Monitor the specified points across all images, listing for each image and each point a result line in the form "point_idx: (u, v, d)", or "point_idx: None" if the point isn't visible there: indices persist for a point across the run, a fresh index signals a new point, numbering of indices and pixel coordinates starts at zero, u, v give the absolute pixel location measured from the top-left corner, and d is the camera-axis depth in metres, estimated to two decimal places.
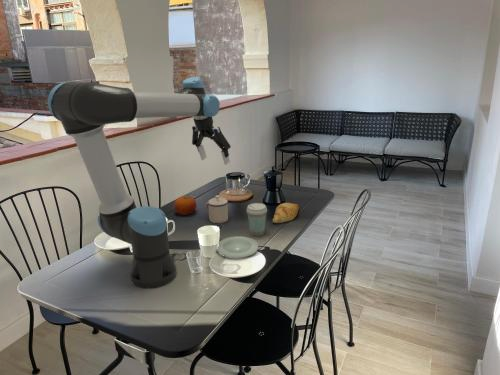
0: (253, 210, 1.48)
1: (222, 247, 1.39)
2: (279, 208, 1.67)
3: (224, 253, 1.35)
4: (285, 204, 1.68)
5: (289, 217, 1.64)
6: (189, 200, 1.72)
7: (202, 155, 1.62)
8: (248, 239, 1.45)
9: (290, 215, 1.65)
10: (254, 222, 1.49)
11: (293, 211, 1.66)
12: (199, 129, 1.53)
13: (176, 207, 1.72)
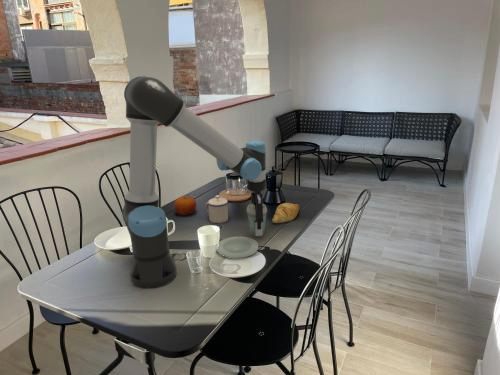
0: (253, 210, 1.48)
1: (222, 247, 1.39)
2: (279, 208, 1.67)
3: (224, 253, 1.35)
4: (285, 204, 1.68)
5: (289, 217, 1.64)
6: (189, 200, 1.72)
7: None
8: (248, 239, 1.45)
9: (290, 215, 1.65)
10: (254, 222, 1.49)
11: (293, 211, 1.65)
12: None
13: (176, 207, 1.72)
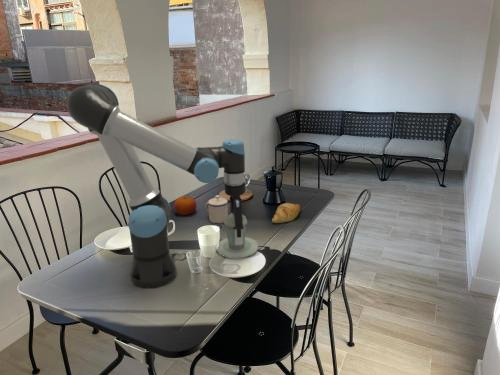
0: (231, 222, 1.33)
1: (222, 247, 1.39)
2: (280, 208, 1.67)
3: (224, 253, 1.35)
4: (286, 204, 1.68)
5: (289, 217, 1.64)
6: (189, 200, 1.72)
7: None
8: (248, 239, 1.45)
9: (290, 215, 1.64)
10: (232, 235, 1.35)
11: (293, 212, 1.65)
12: None
13: (176, 207, 1.72)
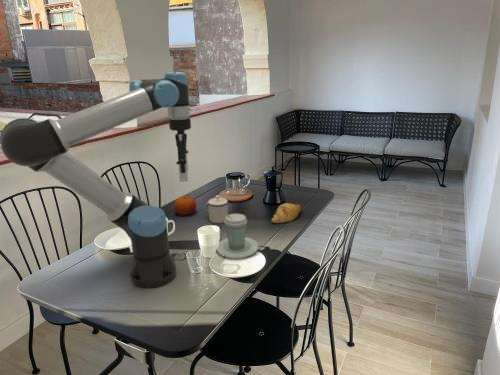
0: (231, 222, 1.33)
1: (222, 247, 1.39)
2: (280, 208, 1.67)
3: (224, 253, 1.35)
4: (286, 204, 1.68)
5: (289, 217, 1.64)
6: (189, 200, 1.72)
7: None
8: (248, 239, 1.45)
9: (290, 216, 1.64)
10: (232, 235, 1.35)
11: (293, 212, 1.65)
12: None
13: (176, 207, 1.72)
